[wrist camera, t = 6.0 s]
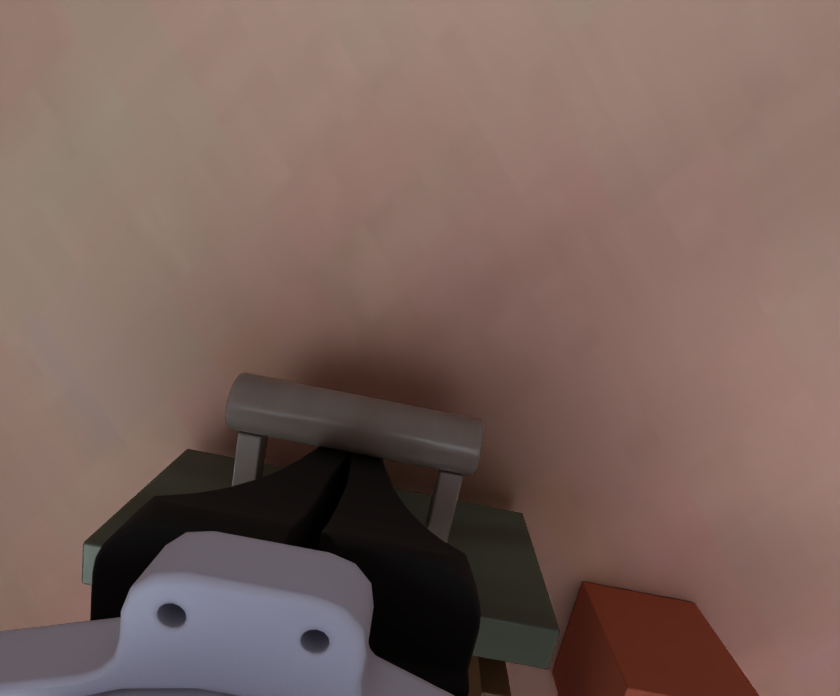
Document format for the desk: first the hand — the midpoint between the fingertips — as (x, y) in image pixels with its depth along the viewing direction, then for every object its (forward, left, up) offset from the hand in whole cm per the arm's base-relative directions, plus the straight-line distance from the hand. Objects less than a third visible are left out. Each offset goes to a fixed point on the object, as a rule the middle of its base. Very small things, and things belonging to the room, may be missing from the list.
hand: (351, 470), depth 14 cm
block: (-12, +5, -3) cm, 14 cm away
